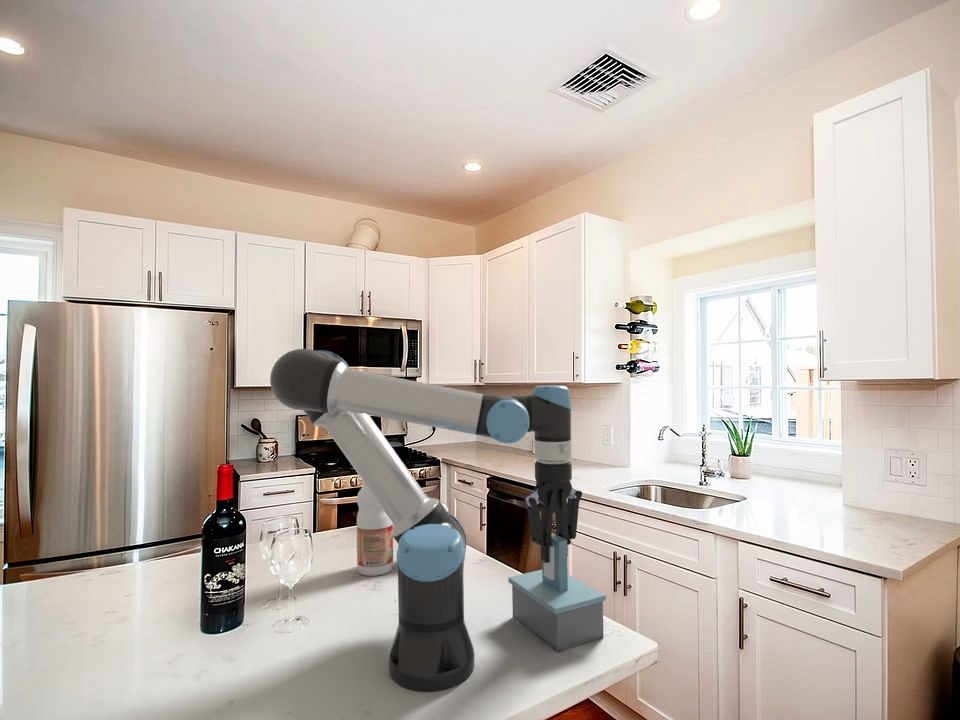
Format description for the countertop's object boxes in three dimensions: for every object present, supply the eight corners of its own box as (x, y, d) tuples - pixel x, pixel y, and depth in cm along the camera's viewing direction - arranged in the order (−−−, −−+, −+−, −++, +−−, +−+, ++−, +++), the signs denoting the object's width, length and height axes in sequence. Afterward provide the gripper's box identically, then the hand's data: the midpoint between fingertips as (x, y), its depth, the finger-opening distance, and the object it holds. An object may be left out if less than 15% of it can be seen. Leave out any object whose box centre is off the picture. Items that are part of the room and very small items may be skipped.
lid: (605, 600, 102) (604, 543, 102) (555, 614, 96) (554, 554, 96) (554, 571, 117) (553, 521, 117) (508, 582, 111) (507, 530, 112)
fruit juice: (350, 570, 139) (349, 464, 139) (380, 560, 145) (379, 459, 146) (369, 579, 132) (368, 468, 133) (400, 569, 139) (399, 463, 139)
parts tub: (603, 637, 102) (602, 601, 102) (557, 652, 97) (556, 614, 97) (555, 605, 116) (554, 573, 116) (512, 617, 111) (512, 583, 111)
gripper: (532, 467, 100) (534, 590, 100) (593, 460, 107) (595, 575, 107) (512, 461, 107) (513, 577, 106) (571, 455, 114) (572, 563, 113)
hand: (554, 576), depth 107 cm, fingers closed on lid, 2 cm apart
